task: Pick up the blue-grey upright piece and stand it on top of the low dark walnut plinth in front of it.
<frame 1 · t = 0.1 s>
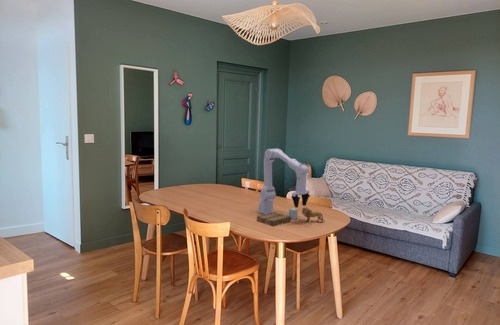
hand: (300, 206, 227), 10 cm above the table, tool pointing down, fingers open, 7 cm apart
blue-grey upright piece: (293, 218, 237), on the table
walnut plinth: (273, 221, 229), on the table
lion figurine: (312, 222, 230), on the table
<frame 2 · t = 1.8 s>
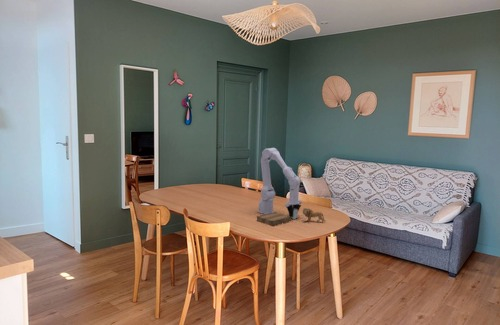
hand: (293, 216, 237), 1 cm above the table, tool pointing down, fingers closed on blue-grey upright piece, 4 cm apart
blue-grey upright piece: (293, 218, 237), on the table, touching gripper
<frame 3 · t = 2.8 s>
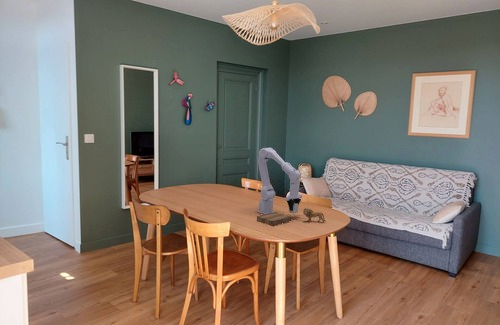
hand: (293, 210, 236), 5 cm above the table, tool pointing down, fingers closed on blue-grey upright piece, 4 cm apart
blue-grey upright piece: (293, 212, 236), point 4 cm above the table, touching gripper
everything else where it was.
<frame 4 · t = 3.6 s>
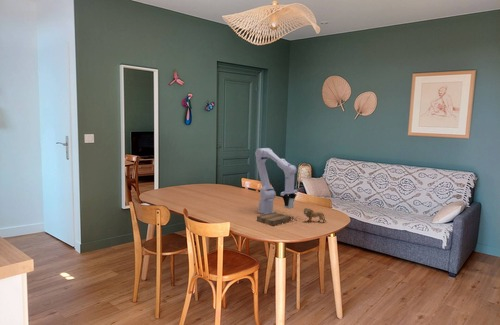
hand: (288, 205, 234), 9 cm above the table, tool pointing down, fingers closed on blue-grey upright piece, 4 cm apart
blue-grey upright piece: (288, 207, 234), point 7 cm above the table, touching gripper
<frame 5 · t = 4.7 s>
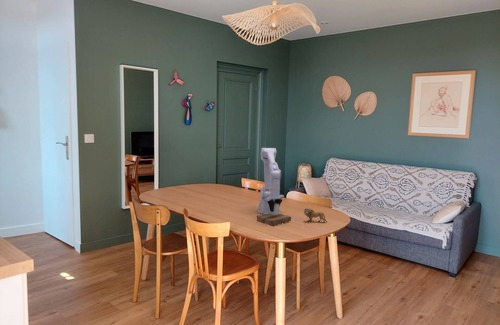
hand: (274, 210, 228), 7 cm above the table, tool pointing down, fingers closed on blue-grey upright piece, 4 cm apart
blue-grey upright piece: (274, 213, 228), point 5 cm above the table, touching gripper
when the fingers open (6 cm above the table, at t = 5.6 s): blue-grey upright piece drops 1 cm, resting on walnut plinth.
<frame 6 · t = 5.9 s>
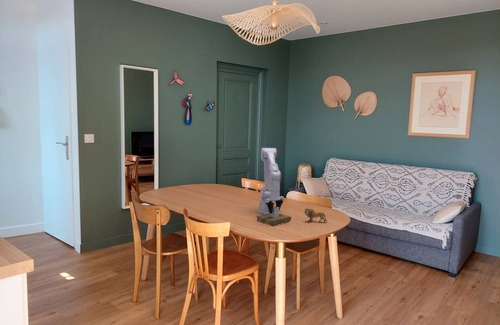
hand: (274, 212, 228), 6 cm above the table, tool pointing down, fingers open, 6 cm apart
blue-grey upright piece: (274, 216, 228), point 3 cm above the table, touching walnut plinth
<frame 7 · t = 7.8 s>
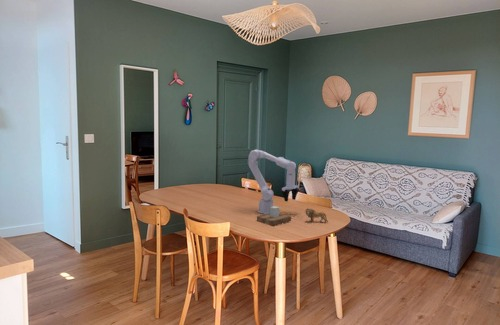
hand: (289, 200, 243), 10 cm above the table, tool pointing down, fingers open, 7 cm apart
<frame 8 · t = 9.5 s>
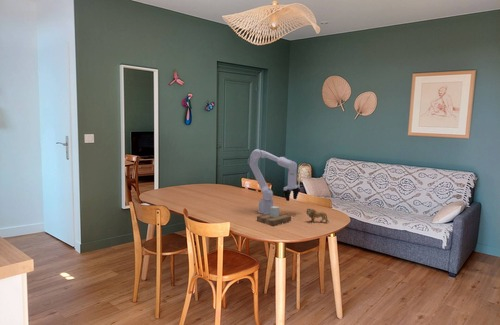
hand: (291, 199, 245), 10 cm above the table, tool pointing down, fingers open, 7 cm apart
at the end: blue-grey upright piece inside the target area on the walnut plinth (0.2 cm from its centre), point 3.0 cm above the walnut plinth's base; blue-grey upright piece tilted 0°; the gripper is holding nothing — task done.
